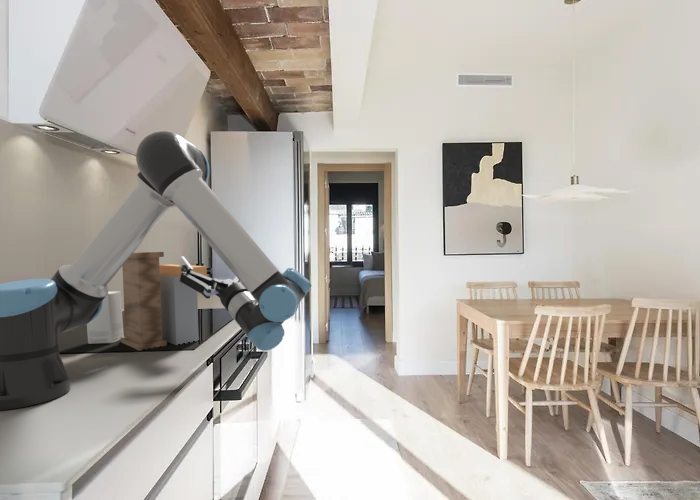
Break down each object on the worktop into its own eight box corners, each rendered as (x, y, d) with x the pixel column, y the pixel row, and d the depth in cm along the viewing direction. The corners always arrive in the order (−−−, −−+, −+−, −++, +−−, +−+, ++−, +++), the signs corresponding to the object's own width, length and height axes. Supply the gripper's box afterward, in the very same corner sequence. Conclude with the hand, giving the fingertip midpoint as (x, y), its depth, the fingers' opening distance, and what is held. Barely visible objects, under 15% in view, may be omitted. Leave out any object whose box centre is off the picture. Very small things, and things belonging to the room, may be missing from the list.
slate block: (176, 345, 130) (173, 276, 130) (156, 337, 142) (153, 274, 141) (198, 340, 135) (196, 274, 134) (177, 333, 146) (175, 272, 146)
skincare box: (124, 339, 140) (122, 291, 140) (111, 344, 134) (109, 293, 133) (100, 339, 141) (98, 291, 141) (85, 344, 135) (83, 293, 134)
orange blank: (193, 277, 123) (193, 267, 123) (158, 274, 142) (158, 265, 142) (206, 276, 126) (206, 266, 126) (170, 273, 145) (170, 264, 145)
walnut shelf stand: (138, 350, 125) (135, 252, 124) (120, 342, 136) (117, 252, 135) (167, 345, 130) (163, 251, 129) (147, 337, 142) (144, 251, 141)
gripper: (190, 322, 102) (157, 273, 115) (277, 308, 120) (241, 267, 133) (196, 295, 100) (162, 249, 112) (285, 285, 117) (247, 246, 130)
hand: (205, 259), depth 122 cm, fingers open, 13 cm apart
